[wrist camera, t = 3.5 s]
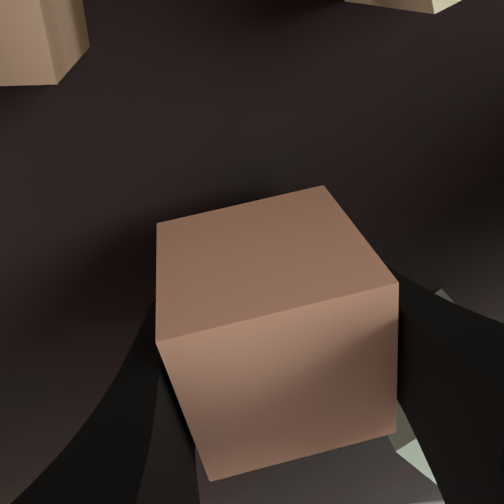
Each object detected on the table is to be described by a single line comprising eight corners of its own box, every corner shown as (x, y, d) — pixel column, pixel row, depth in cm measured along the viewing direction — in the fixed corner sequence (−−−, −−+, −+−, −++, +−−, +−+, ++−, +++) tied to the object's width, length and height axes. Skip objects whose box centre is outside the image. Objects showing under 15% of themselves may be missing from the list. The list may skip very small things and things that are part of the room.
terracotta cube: (323, 184, 13) (399, 282, 9) (334, 312, 16) (396, 432, 12) (156, 223, 13) (155, 341, 9) (196, 346, 16) (209, 481, 12)
